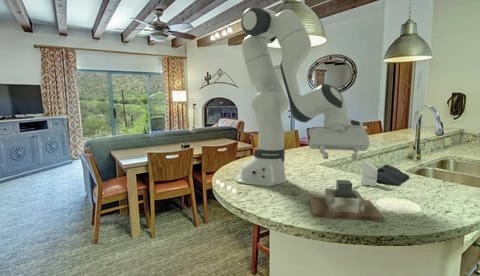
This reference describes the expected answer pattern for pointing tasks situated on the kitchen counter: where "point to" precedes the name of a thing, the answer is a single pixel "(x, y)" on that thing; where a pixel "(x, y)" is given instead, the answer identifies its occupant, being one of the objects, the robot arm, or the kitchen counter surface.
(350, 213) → the socket block
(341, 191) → the black plug
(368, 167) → the white wedge bracket
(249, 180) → the robot arm
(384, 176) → the dark slate chunk
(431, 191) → the kitchen counter surface
